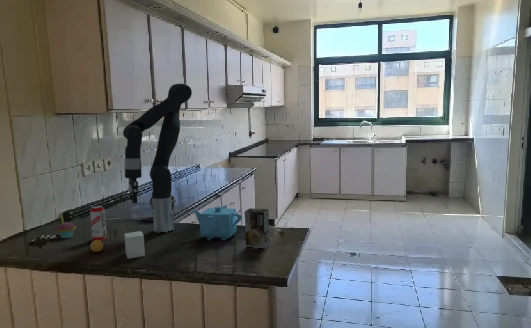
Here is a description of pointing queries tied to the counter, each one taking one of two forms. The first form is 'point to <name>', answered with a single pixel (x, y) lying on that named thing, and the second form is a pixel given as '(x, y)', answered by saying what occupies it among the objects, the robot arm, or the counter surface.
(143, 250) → the grey rectangular block
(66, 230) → the cupcake
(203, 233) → the teakettle
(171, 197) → the flowerpot
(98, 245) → the ball
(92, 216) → the beer can
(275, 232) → the counter surface
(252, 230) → the coffee box
